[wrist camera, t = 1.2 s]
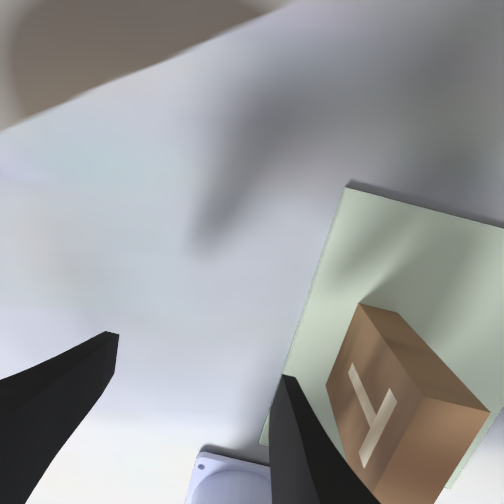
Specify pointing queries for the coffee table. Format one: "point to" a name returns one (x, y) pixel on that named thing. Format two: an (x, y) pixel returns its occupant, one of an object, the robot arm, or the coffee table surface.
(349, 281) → the mat
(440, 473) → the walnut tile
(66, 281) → the coffee table surface
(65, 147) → the coffee table surface
